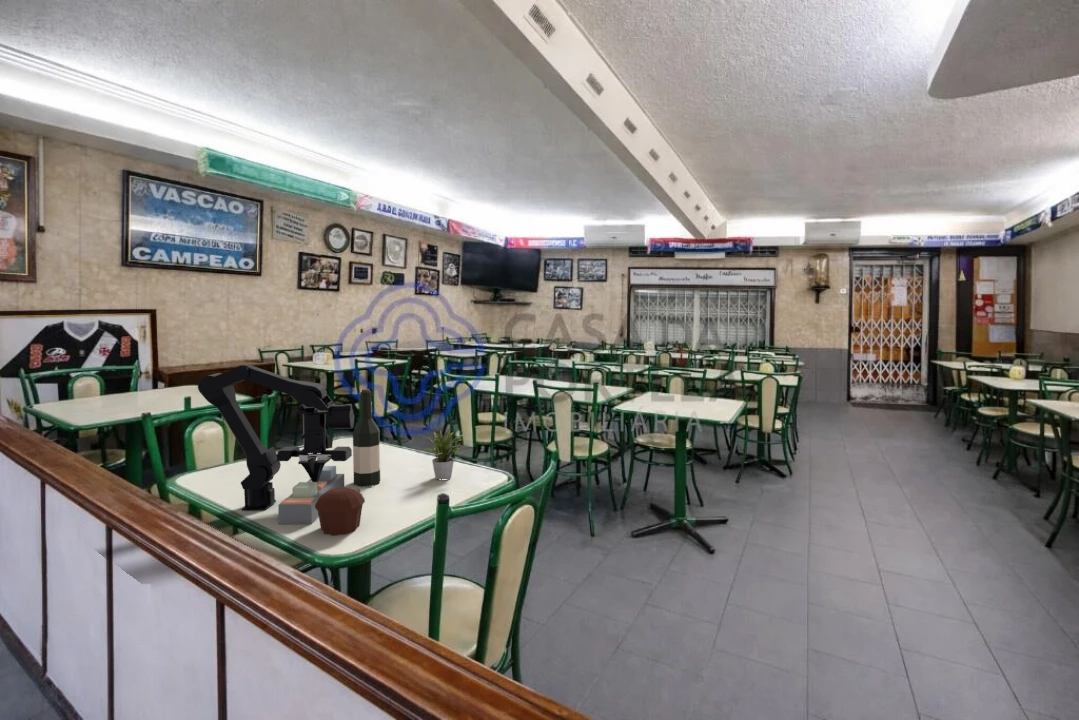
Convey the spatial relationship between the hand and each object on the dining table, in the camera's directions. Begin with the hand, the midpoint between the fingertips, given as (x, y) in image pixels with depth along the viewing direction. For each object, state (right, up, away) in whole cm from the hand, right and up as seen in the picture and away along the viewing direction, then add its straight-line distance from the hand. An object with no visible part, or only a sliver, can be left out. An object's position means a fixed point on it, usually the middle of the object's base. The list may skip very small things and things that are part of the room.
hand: (315, 483), depth 145 cm
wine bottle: (+8, -5, +19) cm, 21 cm away
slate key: (0, -1, +8) cm, 8 cm away
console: (0, -6, -1) cm, 6 cm away
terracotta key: (0, -3, 0) cm, 4 cm away
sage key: (0, -2, -7) cm, 8 cm away
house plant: (+32, -4, +24) cm, 40 cm away
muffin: (+13, -8, -16) cm, 22 cm away
